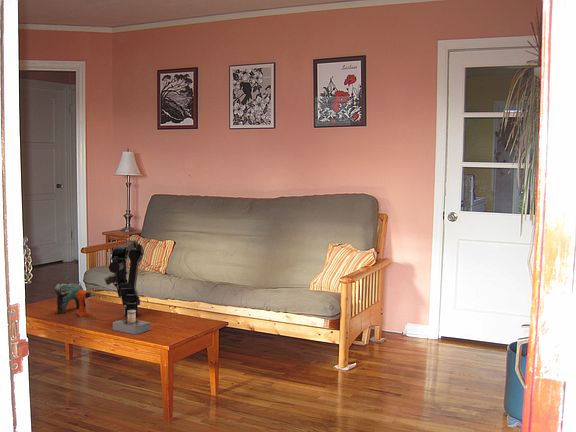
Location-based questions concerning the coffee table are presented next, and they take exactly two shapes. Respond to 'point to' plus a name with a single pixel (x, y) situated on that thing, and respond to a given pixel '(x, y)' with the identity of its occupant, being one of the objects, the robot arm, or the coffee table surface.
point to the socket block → (131, 326)
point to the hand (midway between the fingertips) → (121, 298)
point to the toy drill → (83, 302)
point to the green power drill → (66, 295)
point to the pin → (131, 316)
